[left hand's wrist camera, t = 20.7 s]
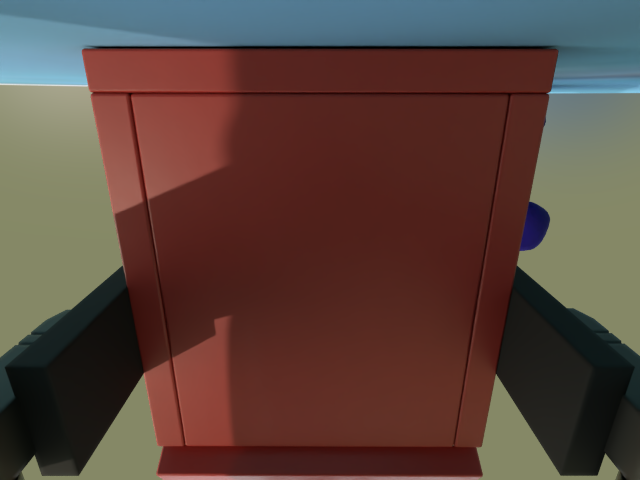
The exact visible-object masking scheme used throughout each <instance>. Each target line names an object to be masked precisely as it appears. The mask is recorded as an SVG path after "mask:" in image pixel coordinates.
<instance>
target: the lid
mask: <svg viewBox="0 0 640 480" xmlns="http://www.w3.org/2000/svg"><path fill="white" fill-rule="evenodd" d="M156 474H157V476H159V477H160V478H162V479H163V480H478V479H479V478H481V477H482V476H483V473H482V469H481V465H480V461H479V457H478V453H477V448H476V447H455V446H452V447H299V446H187V445H184V446H163V448H162V452H161V457H160V461H159V465H158V469H157V473H156Z"/></svg>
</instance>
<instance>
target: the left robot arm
mask: <svg viewBox="0 0 640 480" xmlns="http://www.w3.org/2000/svg"><path fill="white" fill-rule="evenodd" d="M143 374H144V371H143V366H142V361H141V356H140V350H139V345H138V340H137V335H136V330H135V324H134V319H133V314H132V309H131V304H130V298H129V293H128V288H127V284H126V278H125V273H124V268H123V266H122V267H120V268H119V269H118V270H117V271H116V272H115V273H114V274H112V275H111V276H110V277H109V278H108V279H107V280H105V281H104V282H103V283H102V284H101V285H100V286H98V287H97V288H96V289H95V290H94V291H92V292H91V293H90V294H89V295H88V296H87V297H86V298H84V299H83V300H82V301H81V302H80V303H79V304H77V305H76V306H75V307H74V308H73V309H72V310H65V311H63V312H61V313H59V314H57V315H55V316H53V317H52V318H50V319H47V320H46V321H45V322H43V323H42V324H41V325H40V326H38V327H37V328H36V329H35V330H34V331H32V332H31V335H27V336H26V337H25V338H24V339H22V340H21V341H20V342H19V345H15V346H14V347H13V348H12V349H10V350H9V351H8V352H7V353H5V354H4V355H3V356H2V357H1V358H0V480H24V477H23V474H22V472H21V471H22V470H23V469H24V467H25V466H26V465H27V464H28V462H29V461H30V460H31V459H32V457H33V456H34V455H35V457H36V460H37V462H38V465H39V468H40V471H41V474H42V476H79V474H80V473H81V471H82V470H83V468H84V467H85V465H86V463H87V462H88V460H89V459H90V457H91V455H92V454H93V452H94V451H95V449H96V448H97V446H98V444H99V443H100V441H101V440H102V438H103V437H104V435H105V433H106V432H107V430H108V429H109V427H110V425H111V424H112V422H113V421H114V419H115V418H116V416H117V414H118V413H119V411H120V410H121V408H122V407H123V405H124V404H125V402H126V400H127V399H128V397H129V396H130V394H131V392H132V391H133V389H134V388H135V386H136V385H137V383H138V381H139V380H140V378H141V377H142V375H143ZM496 374H497V376H498V377H499V379H500V380H501V382H502V384H503V385H504V387H505V388H506V390H507V391H508V393H509V395H510V396H511V398H512V399H513V401H514V403H515V404H516V406H517V407H518V409H519V410H520V412H521V414H522V415H523V417H524V418H525V420H526V422H527V423H528V425H529V426H530V428H531V429H532V431H533V433H534V434H535V436H536V437H537V439H538V440H539V442H540V444H541V445H542V447H543V448H544V450H545V451H546V453H547V455H548V456H549V458H550V459H551V461H552V462H553V464H554V466H555V467H556V469H557V470H558V472H559V474H560V475H563V476H597V475H598V472H599V470H600V467H601V464H602V461H603V458H604V455H605V453H606V455H607V456H608V457H609V458H610V460H611V461H612V462H613V463H614V465H615V466H616V467H617V468H618V470H619V472H618V474H617V477H616V480H640V356H639V355H638V354H637V353H635V352H634V351H633V350H632V349H630V348H629V347H628V346H627V345H625V344H622V343H621V340H619V339H618V338H617V337H616V336H614V335H613V334H612V333H609V331H608V330H607V329H606V328H605V327H603V326H602V325H601V324H600V323H598V322H597V321H596V320H595V319H593V318H591V317H589V316H587V315H585V314H583V313H581V312H579V311H577V310H575V309H573V308H566V307H565V306H563V305H562V304H561V303H560V302H559V301H558V300H556V299H555V298H554V297H553V296H552V295H551V294H549V293H548V292H547V291H546V290H545V289H544V288H542V287H541V286H540V285H539V284H538V283H537V282H535V281H534V280H533V279H532V278H531V277H530V276H528V275H527V274H526V273H525V272H524V271H523V270H521V269H520V268H519V267H518V266H517V267H516V272H515V277H514V282H513V287H512V293H511V298H510V303H509V308H508V313H507V318H506V324H505V329H504V334H503V339H502V344H501V349H500V355H499V360H498V365H497V370H496Z"/></svg>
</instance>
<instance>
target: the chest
mask: <svg viewBox="0 0 640 480" xmlns="http://www.w3.org/2000/svg"><path fill="white" fill-rule="evenodd" d="M82 55H83V61H84V66H85V71H86V76H87V81H88V87H89V90H90V92H93V93H92V94H91V101H92V106H93V111H94V116H95V122H96V127H97V132H98V137H99V143H100V148H101V153H102V158H103V163H104V169H105V174H106V179H107V184H108V189H109V195H110V200H111V205H112V210H113V216H114V221H115V226H116V231H117V237H118V242H119V247H120V252H121V257H122V263H123V268H124V273H125V278H126V284H127V288H128V293H129V298H130V304H131V309H132V314H133V319H134V324H135V330H136V335H137V340H138V345H139V350H140V356H141V361H142V366H143V371H144V378H145V383H146V388H147V394H148V399H149V404H150V409H151V414H152V420H153V425H154V430H155V435H156V441H157V445H158V446H184V445H185V443H186V445H187V446H299V447H452V446H453V445H454V446H455V447H481V446H482V443H483V437H484V432H485V427H486V422H487V417H488V411H489V406H490V401H491V396H492V391H493V386H494V380H495V375H496V370H497V365H498V360H499V355H500V349H501V344H502V339H503V334H504V329H505V324H506V318H507V313H508V308H509V303H510V298H511V293H512V287H513V282H514V277H515V272H516V267H517V261H518V256H519V251H520V246H521V241H522V236H523V230H524V225H525V220H526V215H527V210H528V205H529V199H530V194H531V189H532V184H533V179H534V173H535V168H536V163H537V158H538V153H539V148H540V142H541V137H542V132H543V127H544V122H545V117H546V111H547V106H548V101H549V95H548V94H546V93H549V92H550V91H551V88H552V82H553V77H554V72H555V67H556V62H557V57H558V50H557V49H115V48H85V49H83V50H82Z"/></svg>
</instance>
